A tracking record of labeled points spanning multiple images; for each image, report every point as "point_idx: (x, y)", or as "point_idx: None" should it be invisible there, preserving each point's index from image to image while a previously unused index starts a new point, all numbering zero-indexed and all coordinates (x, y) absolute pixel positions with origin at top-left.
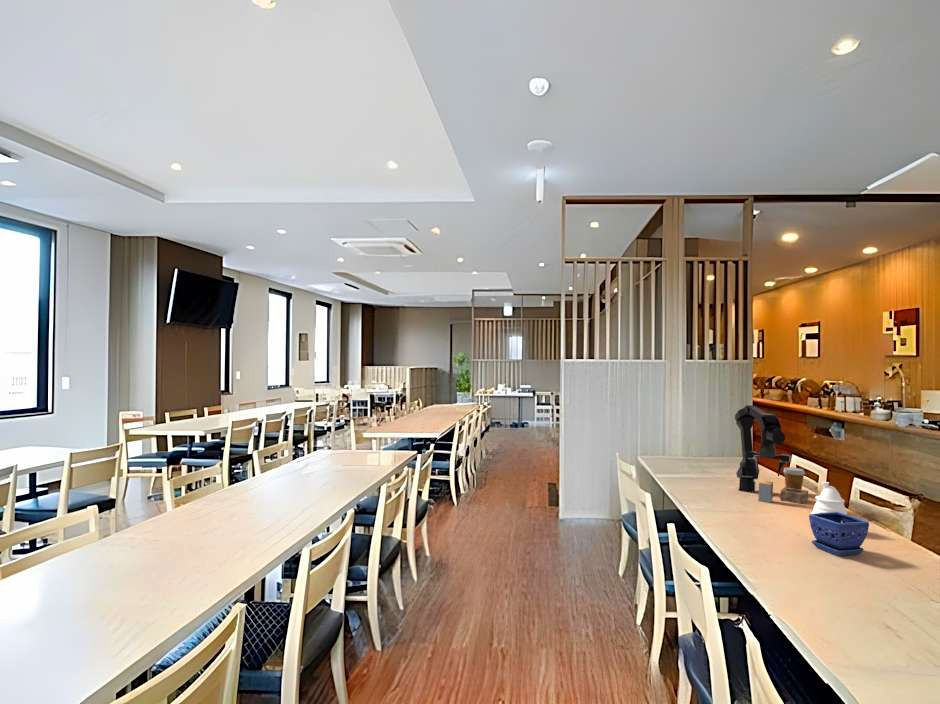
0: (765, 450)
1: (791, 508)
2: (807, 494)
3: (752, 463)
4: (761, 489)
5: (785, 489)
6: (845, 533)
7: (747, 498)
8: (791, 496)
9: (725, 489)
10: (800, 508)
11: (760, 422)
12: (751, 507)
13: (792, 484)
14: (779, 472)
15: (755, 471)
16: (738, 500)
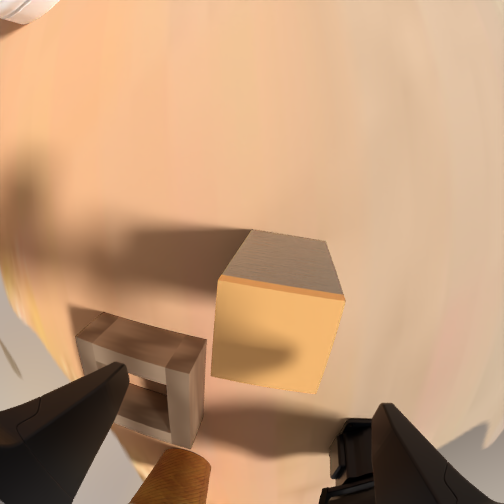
0: None
1: (133, 167)
2: None
3: (478, 492)
4: (313, 266)
5: (175, 412)
6: None
7: (388, 281)
8: (141, 343)
9: (454, 403)
10: (99, 203)
11: None
12: (348, 34)
13: (172, 478)
14: (78, 380)
15: (404, 418)
16: (438, 187)
